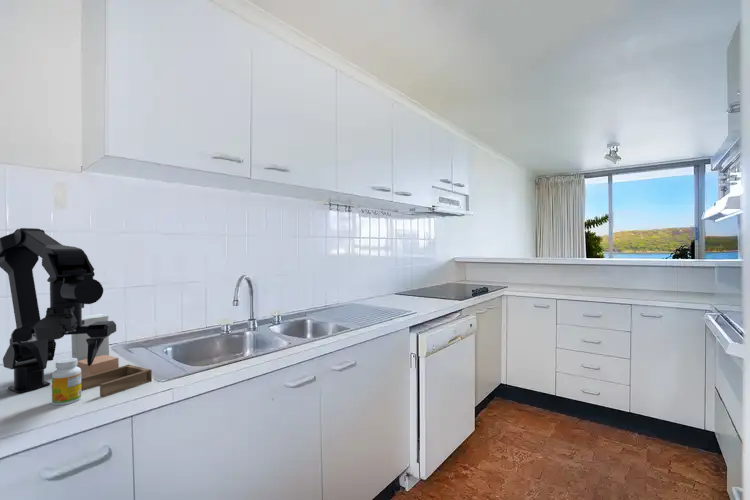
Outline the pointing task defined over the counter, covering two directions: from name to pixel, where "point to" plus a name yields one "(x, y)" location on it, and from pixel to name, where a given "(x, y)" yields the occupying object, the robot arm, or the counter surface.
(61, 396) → the supplement bottle
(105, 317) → the skincare box
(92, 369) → the terracotta pedestal
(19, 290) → the robot arm
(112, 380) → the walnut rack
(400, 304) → the counter surface
